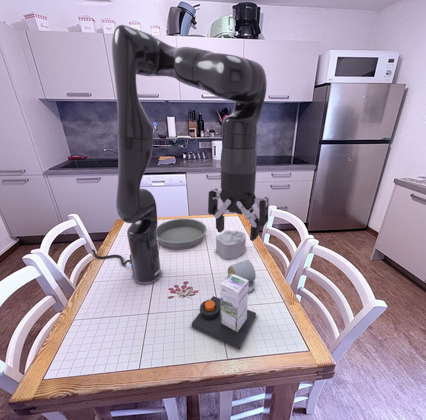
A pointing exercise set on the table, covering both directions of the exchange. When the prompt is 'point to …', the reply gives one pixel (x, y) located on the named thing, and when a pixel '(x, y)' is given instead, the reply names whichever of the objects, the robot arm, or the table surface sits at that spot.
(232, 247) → the lumpy-topped squat cylinder
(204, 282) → the table surface
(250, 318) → the black button base
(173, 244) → the cake pan
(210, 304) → the button
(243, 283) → the syrup box
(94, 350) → the table surface
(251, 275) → the ceramic mug
